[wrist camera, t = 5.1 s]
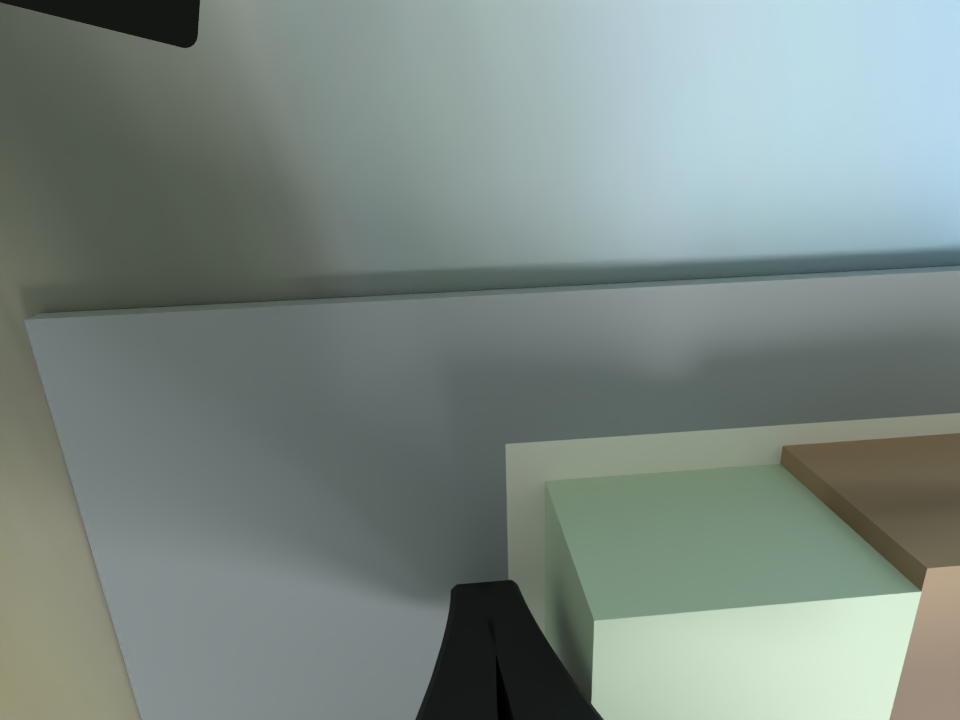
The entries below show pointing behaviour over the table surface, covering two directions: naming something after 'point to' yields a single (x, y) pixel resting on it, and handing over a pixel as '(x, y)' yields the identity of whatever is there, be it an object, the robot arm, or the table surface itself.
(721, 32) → the table surface
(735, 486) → the green block
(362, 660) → the plate
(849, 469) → the walnut block
